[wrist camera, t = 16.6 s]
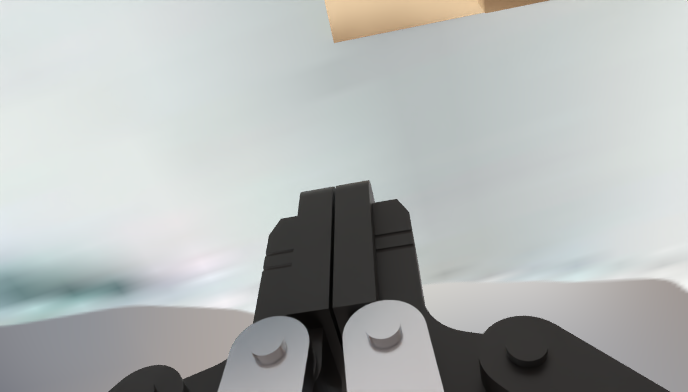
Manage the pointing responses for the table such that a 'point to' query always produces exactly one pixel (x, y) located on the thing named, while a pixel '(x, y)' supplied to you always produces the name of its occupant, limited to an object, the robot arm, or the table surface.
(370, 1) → the guide board
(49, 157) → the table surface
